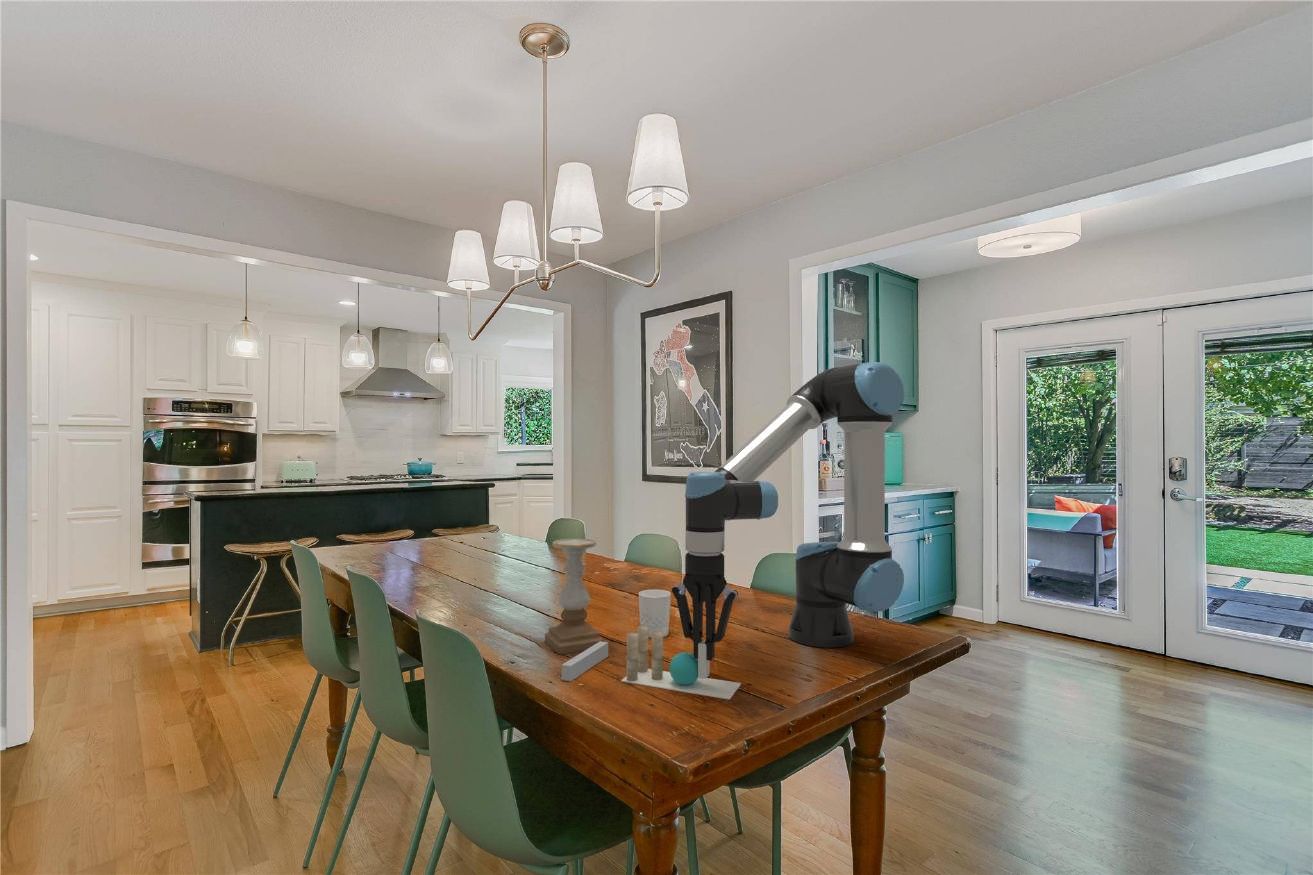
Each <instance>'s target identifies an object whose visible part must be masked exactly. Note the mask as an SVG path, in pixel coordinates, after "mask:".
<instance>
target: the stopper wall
mask: <svg viewBox="0 0 1313 875" xmlns="http://www.w3.org/2000/svg"><path fill="white" fill-rule="evenodd" d="M607 657H609V642H608V641H604V642H601V641H600V642H598V643H597V644H595V645H593V646H592V647H590V648H588V649H587V650H585V651H582V652H579V653H578V654H577V655H575V656H574V657H572V658H570V659H569V660H567V661H566V662H564V663H562V664H561V680H562V681H565V682H573V680H575V679H576V678H578V677H580V676H581V675H582V674H584V673H586V672H587V671H588V670H590V669H591V668H593V667H594V666H596V665H597V664H599V663H601V662H602V661H604V660H605V659H607Z"/></svg>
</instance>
